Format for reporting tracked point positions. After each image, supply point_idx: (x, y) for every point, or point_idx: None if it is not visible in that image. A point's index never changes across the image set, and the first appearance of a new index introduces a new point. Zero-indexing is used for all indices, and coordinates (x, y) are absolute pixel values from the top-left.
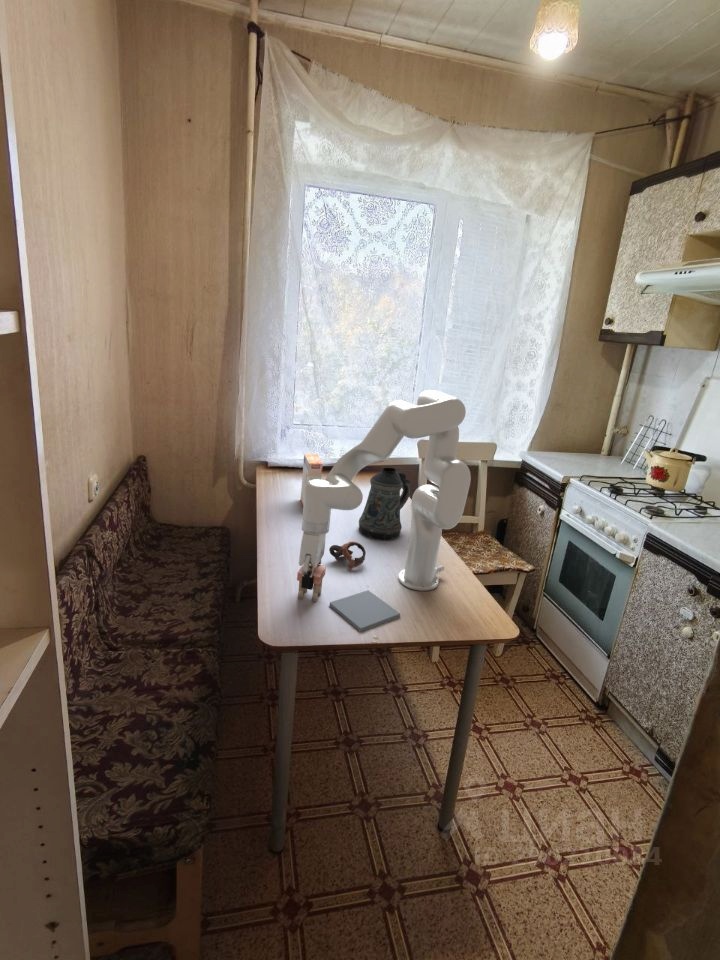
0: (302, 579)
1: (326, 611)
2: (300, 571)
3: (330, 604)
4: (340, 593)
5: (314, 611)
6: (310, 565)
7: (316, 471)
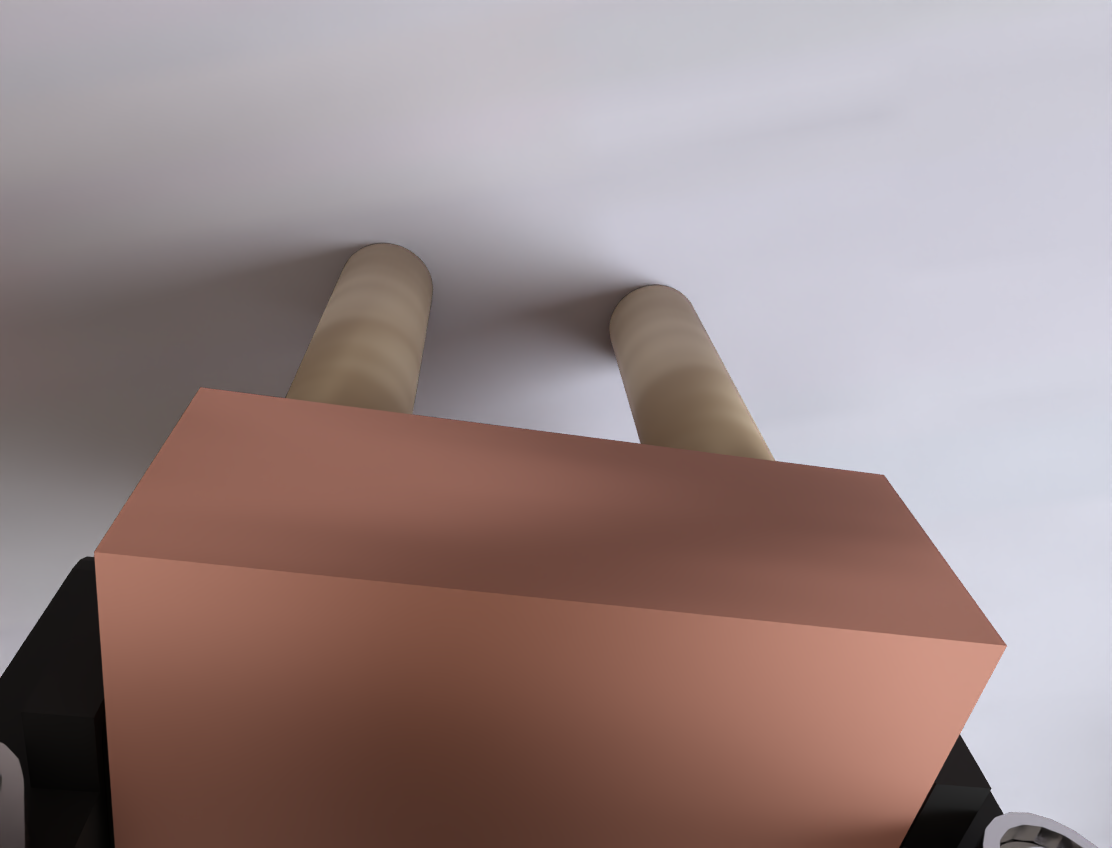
0: (90, 608)
1: None
2: (236, 634)
3: None
4: None
5: (61, 549)
6: (795, 825)
7: None
